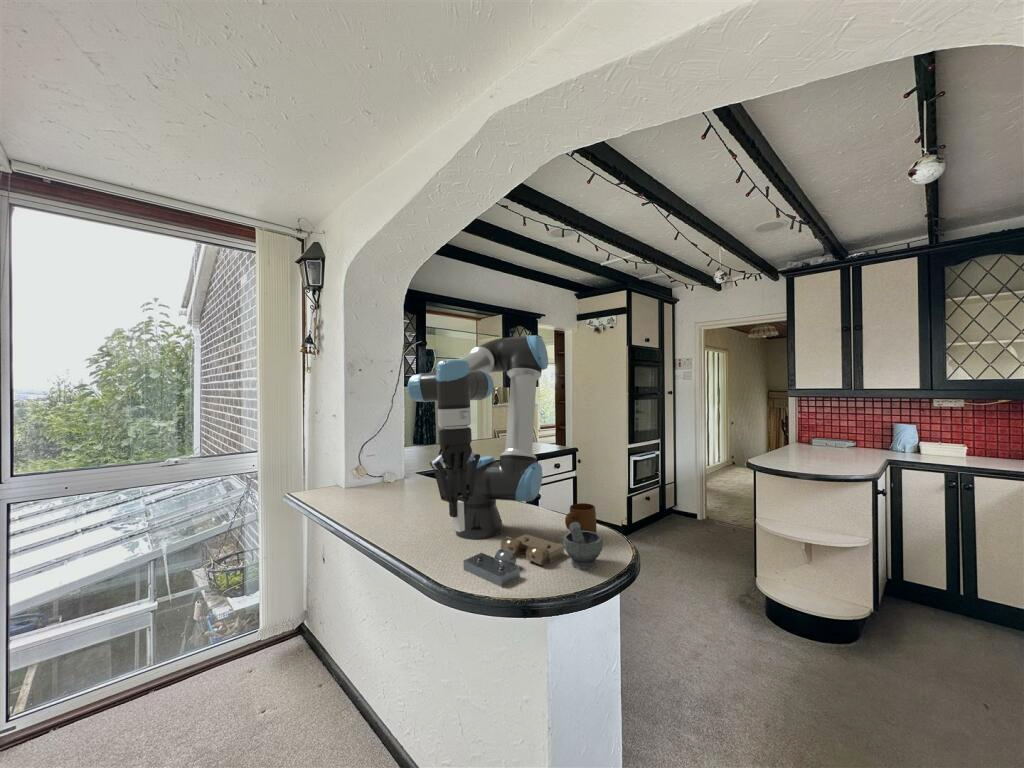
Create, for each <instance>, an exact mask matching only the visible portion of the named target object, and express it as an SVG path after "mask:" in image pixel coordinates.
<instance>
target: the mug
mask: <svg viewBox="0 0 1024 768" xmlns="http://www.w3.org/2000/svg"><path fill="white" fill-rule="evenodd" d="M564 519H565V520H564V524H565V527H566V528H567V530H569V531H570V528H569V526H570V524H571V523H573V522H578V523H579V524H580V526H581V528H580V529H581V531H591V532H595V533H598V532H597V513H596V506H595V505H594V504H590V503H586V502H585V503H583V502H581V503H580V502H579V503H575V504H574V503H573V504H571V505H570V506H569V512H568V513H567V514H566V516H565V518H564Z"/></svg>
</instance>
